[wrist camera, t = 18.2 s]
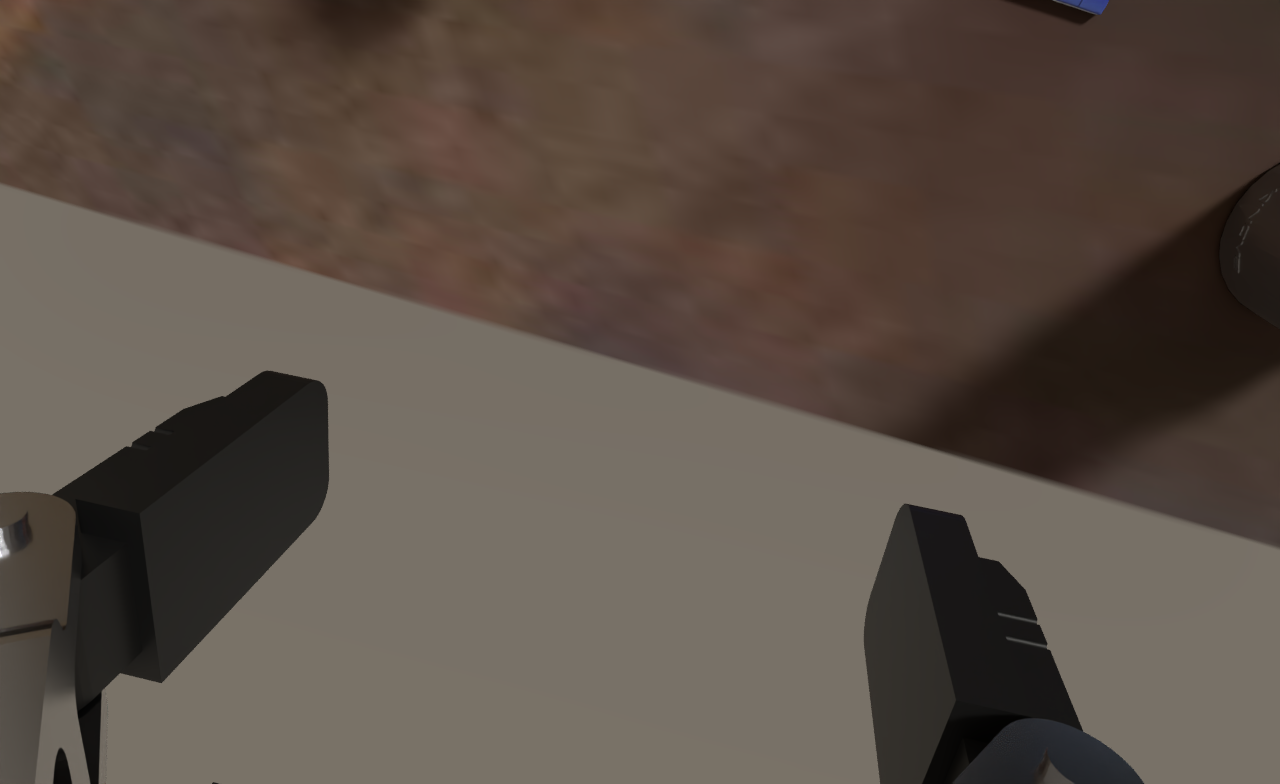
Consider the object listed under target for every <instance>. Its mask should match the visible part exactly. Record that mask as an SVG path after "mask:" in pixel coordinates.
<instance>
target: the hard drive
mask: <svg viewBox="0 0 1280 784" xmlns="http://www.w3.org/2000/svg"><path fill="white" fill-rule="evenodd" d="M1053 1H1056V2H1059V3H1062V4H1065V5H1068V6H1071V7H1074V8H1077V9H1080V10H1083V11H1086V12H1089V13H1092V14H1095V15H1100V14H1101V13H1102V12H1103V10H1104V9H1105V7H1106V5H1107V3H1108V1H1109V0H1053Z"/></svg>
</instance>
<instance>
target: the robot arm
mask: <svg viewBox="0 0 1280 784" xmlns="http://www.w3.org/2000/svg"><path fill="white" fill-rule="evenodd" d="M1219 260H1220V266H1221V272H1222V276H1223V278H1224V280H1225V282H1226V285H1227V287H1228V289H1229V290H1230V292H1231V293H1232V294H1233V295H1234V296H1235V298H1236V299H1237V300H1238V301H1239V302H1240V303H1241V304H1243V305H1244V306H1245V307H1247V308H1248V309H1250V310H1251V311H1253V312H1254V313H1256V314H1257V315H1259V316H1260V317H1262V318H1263V319H1265V320H1266V321H1268V322H1269V323H1271V324H1272V325H1274V326H1275V327H1277V328H1279V329H1280V164H1279V165H1278V166H1276V167H1274V168H1273V169H1271V170H1269V171H1268V172H1267V173H1266V174H1265V175H1263V176H1262V177H1261V178H1260V179H1259V180H1258V181H1256V182H1255V183H1254V184H1253V185H1252V186H1251V187H1250V188H1249V189H1248V190H1247V192H1246V193H1245V194H1244V195H1243V196H1242V198H1241V199H1240V200H1239V201H1238V202H1237V204H1236V206H1235V207H1234V209H1233V211H1232V213H1231V214H1230V216H1229V218H1228V220H1227V222H1226V225H1225V228H1224V231H1223V234H1222V237H1221V243H1220V254H1219ZM328 482H329V453H328V398H327V392H326V389H325V387H324V385H323V384H322V383H321V382H320V381H317V380H312V379H307V378H302V377H298V376H293V375H288V374H283V373H278V372H273V371H264V372H262V373H260V374H258V375H257V376H255V377H254V378H252V379H251V380H250V381H248V382H247V383H245V384H244V385H242V386H241V387H239V388H238V389H236V390H235V391H234V392H232V393H231V394H229V395H227V396H226V397H223V396H221V397H218V398H215V399H212V400H209V401H206V402H203V403H200V404H197V405H194V406H192V407H188V408H185V409H183V410H181V411H180V412H179V413H177V414H176V415H174V416H172V417H171V418H169V419H168V420H166V421H164V422H163V423H162V424H160V425H159V426H157V427H156V429H155V431H154V432H152V431H149V432H148V433H146V434H145V435H143V436H142V437H140V438H138V439H137V440H135V441H134V442H133V443H132V446H131V447H125V448H123V449H122V450H120V451H118V452H117V453H116V454H114V455H112V456H111V457H109V458H108V459H106V460H105V461H103V462H102V463H100V464H99V465H97V466H95V467H94V468H93V469H91V470H89V471H88V472H86V473H85V474H83V475H82V476H80V477H79V478H77V479H76V480H74V481H72V482H71V483H70V484H68V485H66V486H65V487H63V488H62V489H60V490H59V491H57V492H56V493H54V494H53V495H49V494H43V493H36V492H10V493H0V784H106V757H107V755H106V754H107V716H108V706H107V699H106V693H105V687H106V686H107V685H108V684H109V683H110V682H111V681H112V680H113V679H114V678H115V677H116V676H117V675H118V674H119V673H123V674H127V675H130V676H135V677H139V678H143V679H147V680H151V681H156V682H159V683H162V682H163V681H164V680H165V679H166V678H167V677H168V675H170V674H171V672H172V671H173V670H174V669H175V668H176V667H177V666H178V665H179V664H180V663H181V662H182V661H183V660H184V659H185V658H186V657H187V655H188V654H189V653H190V652H191V651H192V650H193V649H194V648H195V647H196V646H197V645H198V644H199V642H201V640H202V639H203V638H204V637H205V636H206V635H207V634H208V633H209V632H210V631H211V630H212V629H213V628H214V627H215V626H216V625H217V624H218V622H219V621H220V620H221V619H222V618H223V617H224V616H225V615H226V614H227V613H228V612H229V611H230V610H231V609H232V608H233V606H234V605H235V604H236V603H237V602H238V601H239V600H240V599H241V598H242V597H243V596H244V595H245V594H246V593H247V591H248V590H249V589H250V588H251V587H252V586H253V585H254V584H255V583H256V582H257V581H258V580H259V579H260V578H261V577H262V576H263V574H264V573H265V572H266V571H267V570H268V569H269V568H270V567H271V566H272V565H273V564H274V563H275V562H276V561H277V560H278V558H279V557H280V556H281V555H282V554H283V553H284V552H285V551H286V550H287V549H288V548H289V547H290V546H291V545H292V543H294V541H295V540H296V539H297V538H298V537H299V536H300V535H301V534H302V533H303V532H304V531H305V530H306V528H308V526H309V525H310V524H311V523H312V522H313V521H314V520H315V518H316V517H317V515H318V514H319V512H320V510H321V508H322V506H323V503H324V500H325V497H326V494H327V489H328ZM864 648H865V656H866V665H867V674H868V683H869V691H870V700H871V708H872V717H873V725H874V733H875V742H876V751H877V759H878V768H879V775H880V784H1144V783H1143V781H1142V779H1141V778H1140V777H1139V776H1138V774H1137V773H1136V772H1135V771H1134V769H1133V768H1132V767H1131V766H1130V765H1129V764H1128V763H1127V762H1126V761H1125V760H1124V759H1123V758H1122V757H1120V756H1119V755H1118V754H1117V753H1116V752H1114V751H1113V750H1112V749H1111V748H1109V747H1107V746H1106V745H1105V744H1103V743H1102V742H1101V741H1099V740H1097V739H1096V738H1094V737H1092V736H1090V735H1089V734H1087V733H1085V732H1083V730H1082V727H1081V725H1080V722H1079V720H1078V717H1077V715H1076V712H1075V710H1074V708H1073V705H1072V703H1071V700H1070V698H1069V695H1068V693H1067V690H1066V688H1065V686H1064V683H1063V681H1062V678H1061V676H1060V674H1059V671H1058V668H1057V666H1056V664H1055V661H1054V659H1053V656H1052V654H1051V651H1050V650H1047V642H1046V639H1045V637H1044V634H1043V632H1042V630H1041V627H1040V625H1037V617H1036V615H1035V612H1034V610H1033V607H1032V605H1031V602H1030V600H1029V597H1028V595H1027V593H1026V590H1025V589H1024V588H1023V587H1022V586H1021V585H1020V584H1019V583H1018V582H1017V580H1016V579H1015V578H1014V577H1013V576H1012V575H1011V574H1010V573H1009V572H1008V571H1007V570H1006V569H1005V568H1004V567H1003V566H1002V564H1001V563H1000V562H998V561H994V560H989V559H985V558H980V557H978V555H977V552H976V549H975V546H974V543H973V540H972V537H971V535H970V532H969V529H968V526H967V523H966V521H965V518H964V517H963V516H962V515H958V514H953V513H948V512H943V511H938V510H934V509H929V508H923V507H919V506H914V505H909V504H904V505H903V506H902V507H901V508H900V510H899V512H898V514H897V516H896V519H895V522H894V525H893V528H892V531H891V534H890V537H889V540H888V543H887V547H886V549H885V552H884V555H883V558H882V562H881V565H880V568H879V571H878V574H877V577H876V580H875V583H874V586H873V590H872V592H871V595H870V599H869V603H868V607H867V612H866V618H865V627H864ZM212 784H218V783H214V782H213V783H212Z"/></svg>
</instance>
